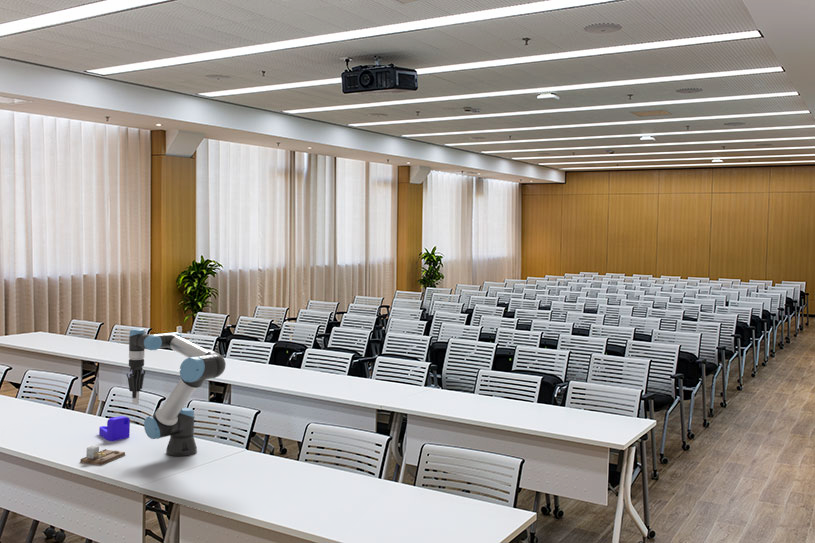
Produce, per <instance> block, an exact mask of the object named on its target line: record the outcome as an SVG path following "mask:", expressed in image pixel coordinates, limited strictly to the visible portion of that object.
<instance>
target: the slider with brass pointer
mask: <svg viewBox="0 0 815 543" xmlns="http://www.w3.org/2000/svg"><path fill="white" fill-rule="evenodd" d="M100 451H101V453H99V452H100ZM99 455H102V456H106V454H104V451H102V450H100V447H99V446H96V445H91V446H88V447H86V456H85V457H86V458H89V459H95V458H97V457H99Z"/></svg>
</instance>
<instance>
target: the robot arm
mask: <svg viewBox="0 0 815 543" xmlns="http://www.w3.org/2000/svg"><path fill="white" fill-rule="evenodd" d="M128 339H129V340H128V367H129V368H130V369H129V373H126V378H127V382H128V389H129V392H132V393H131V394H132V395H131V396H132V397H131V398H132V400H131V401H132V402H131V403H132V405H138V404H139V401H140V400H139V399H140V392H141V391H142V389H143V384H144V379H145V374H146V370H143V368H144V366H145V359H144V358H145V350H149V351H158V350H159V349H166V348H168V349H171V350H173V351H174V352H176V353H179V354H181V355H183V356H184V357H186V358H185V359H184V360H183V361H182V362H181V364H180V365H179V369H180V370H179V375H180V376H179V377H180V379H179V382H177V384H176V386H175V387H174V389H173V390H172V391H171V393H170V395H169V397H168V398H167V399H166V401H165V403H164V404H163V406H160V407H158V408H157V409H156V411H155V412H153V415H149V416H147V417H145V419H144V422H143V428H144V432H145V433H146V435H147V437H148V438H149V439H151V440H156V439H157V440H159V439H163V438H166V437H169V436H170V438H169V441H168V443H167V447H166V450H165V451H166V455H168V456H173V457H186V456H191V455H194V454H196V453H197V452H198V446H197V443H196V440H195V436H194V435H195V410H193V409H192V408H189V407H185V405H186V404H187V402H188V401H189V399H190V398H191V396H192V395H193V393H194V392H195V390H196V389H199V388H201V387H202V386H203V384H204V383H205V381H206V380H209V379H210V380H211V379H215V378H218V377H220V376H221V375H223V373H224V371H225V370H226V360H225V358H224V357H223V355H221V354H220V353H218V352H217V351H214V350H208V349H205V348H204V347H202V346H199V345H197V344H196V343H193V342H191V341H189V340H187V339H185V338H184V337H183V336H182V334H181V333H180V332H176V331H175V332H173V331H172V332H165V333H164V332H163V333H155V334H153V333H152V334H147V333H146V331H145V329H143V328H132V329H130V330H129V336H128Z"/></svg>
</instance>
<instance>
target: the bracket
mask: <svg viewBox="0 0 815 543" xmlns="http://www.w3.org/2000/svg"><path fill="white" fill-rule="evenodd" d="M106 424H107V425H102V426H99V430H98V435H99V436H100V437H102V439H105V440H107V441H108V442H115V441H120V440H123V439H128V438H130V434H131V433H130V432H131V430H130V428H131V419H130V417H128V416H124V415H120V416H115V417H110V418H109V419H108V420H107V422H106Z"/></svg>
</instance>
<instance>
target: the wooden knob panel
mask: <svg viewBox="0 0 815 543" xmlns="http://www.w3.org/2000/svg"><path fill="white" fill-rule="evenodd" d="M101 451H104V454H106V456H102V455H99V457H97V458H95V459H89V458H86V456H85V457H82V458H80V460H79V462H80V463H82V464H87V465H88V464H89V465H96V466H97V465H98V466H103V465H105V464H108V463H110V462H112V461H116V460H117V459H119V458H120V459H121V458H122V457H125V456H126V452H125V451H119V450H110V449H107V448H106V449H102V450H99V453H101Z"/></svg>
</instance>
